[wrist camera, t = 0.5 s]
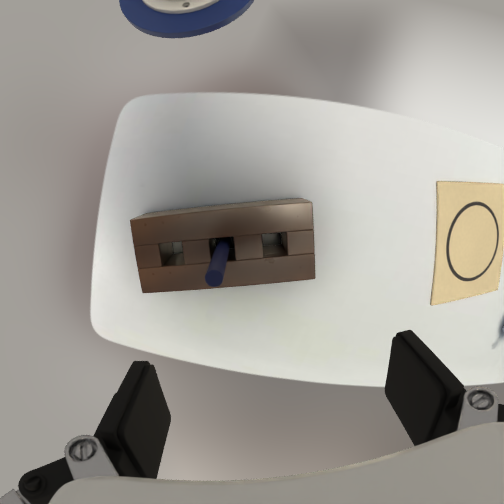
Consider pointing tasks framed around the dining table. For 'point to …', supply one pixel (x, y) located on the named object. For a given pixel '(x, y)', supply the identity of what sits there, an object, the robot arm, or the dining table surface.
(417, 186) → the dining table surface
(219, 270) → the pen
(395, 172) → the dining table surface
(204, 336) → the dining table surface
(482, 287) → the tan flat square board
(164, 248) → the pen stand
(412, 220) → the dining table surface
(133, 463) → the robot arm
